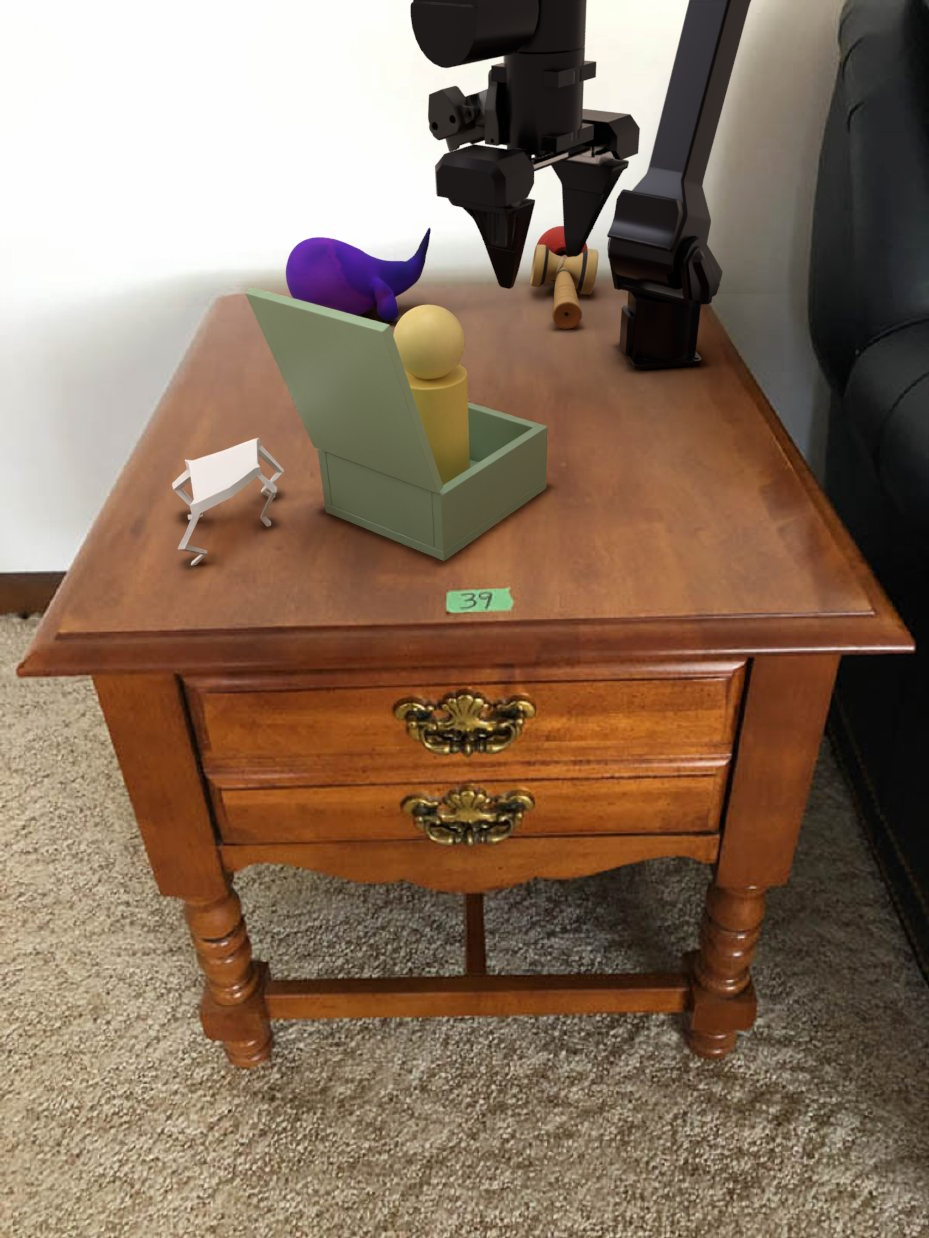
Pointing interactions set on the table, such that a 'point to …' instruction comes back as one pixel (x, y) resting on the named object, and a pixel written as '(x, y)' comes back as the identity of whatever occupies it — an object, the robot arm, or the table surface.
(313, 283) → the toy
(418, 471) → the chest lid
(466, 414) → the toy figure
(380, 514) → the chest
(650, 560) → the table surface
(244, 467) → the white legged piece
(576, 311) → the kendama
